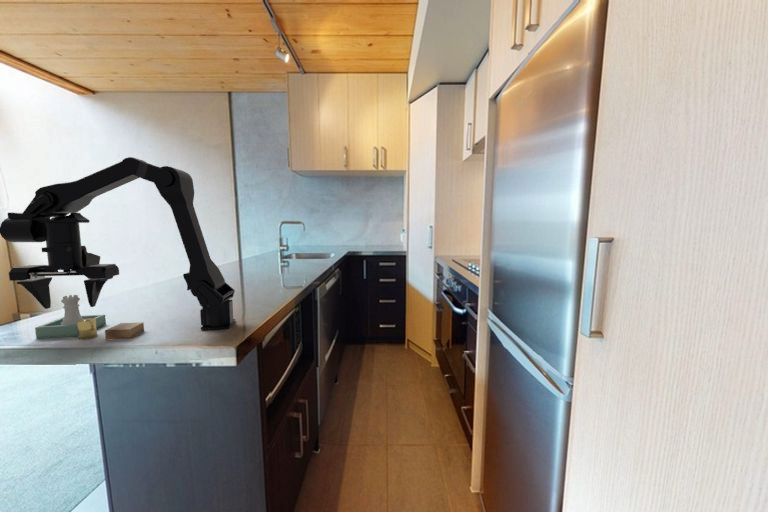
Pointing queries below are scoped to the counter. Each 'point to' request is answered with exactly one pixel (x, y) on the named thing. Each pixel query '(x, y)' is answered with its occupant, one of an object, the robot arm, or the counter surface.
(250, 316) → the counter surface
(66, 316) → the rook chess piece
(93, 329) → the gold metallic block
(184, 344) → the counter surface
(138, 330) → the flat brown wooden block
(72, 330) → the tray
